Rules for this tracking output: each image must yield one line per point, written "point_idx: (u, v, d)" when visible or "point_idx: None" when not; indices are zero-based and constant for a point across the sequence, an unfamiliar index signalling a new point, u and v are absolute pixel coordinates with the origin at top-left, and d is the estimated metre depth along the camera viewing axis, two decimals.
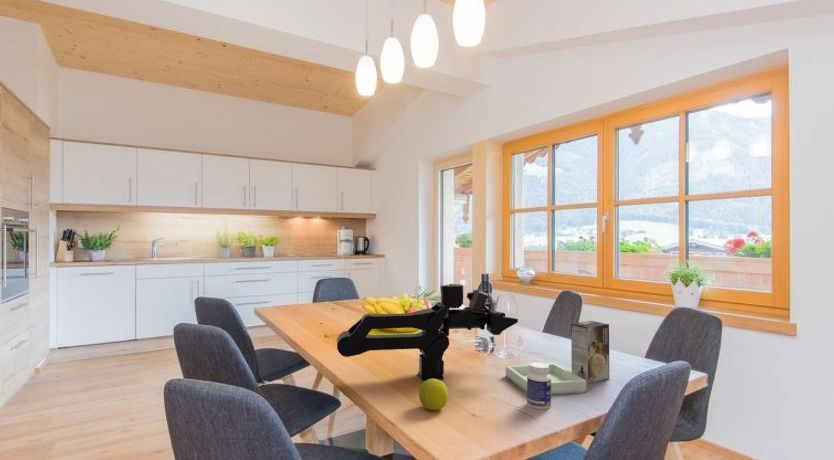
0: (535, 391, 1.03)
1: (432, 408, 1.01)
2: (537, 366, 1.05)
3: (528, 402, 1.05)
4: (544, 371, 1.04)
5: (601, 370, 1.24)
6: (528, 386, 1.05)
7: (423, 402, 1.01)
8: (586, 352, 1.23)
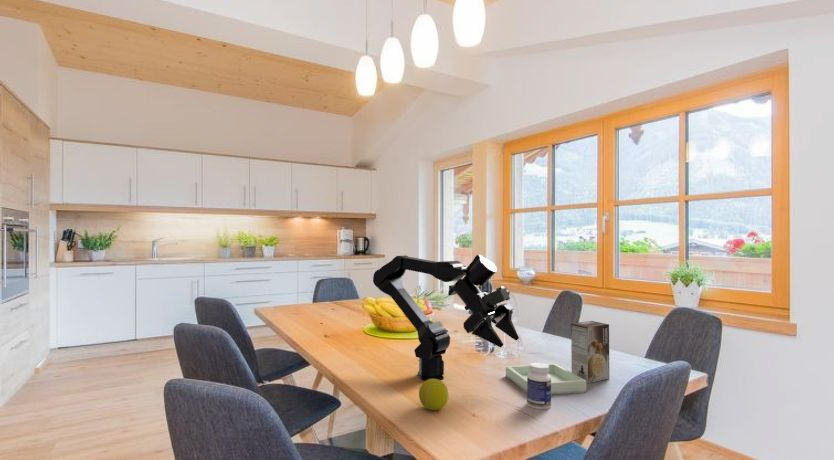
0: (535, 391, 1.03)
1: (432, 408, 1.01)
2: (537, 366, 1.05)
3: (528, 402, 1.05)
4: (544, 371, 1.04)
5: (601, 370, 1.24)
6: (528, 386, 1.05)
7: (423, 402, 1.01)
8: (586, 352, 1.23)
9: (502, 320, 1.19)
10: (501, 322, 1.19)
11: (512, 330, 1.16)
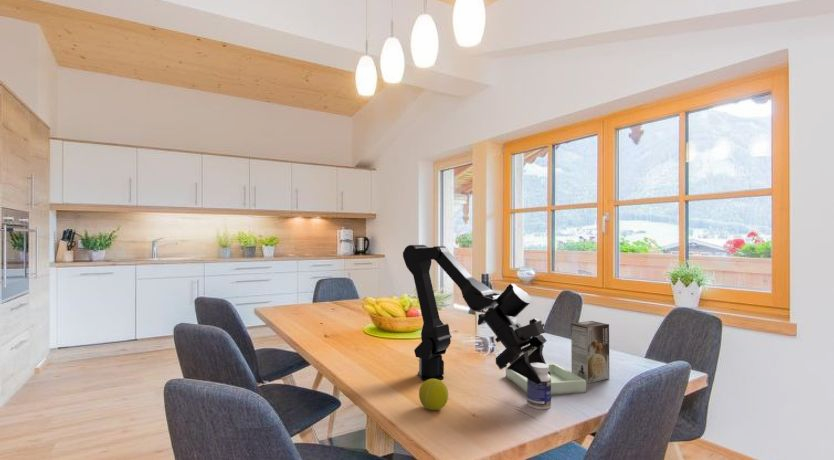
0: (535, 391, 1.03)
1: (432, 408, 1.01)
2: (537, 366, 1.05)
3: (528, 402, 1.05)
4: (544, 371, 1.04)
5: (601, 370, 1.24)
6: (528, 386, 1.05)
7: (423, 402, 1.01)
8: (586, 352, 1.23)
9: (532, 354, 1.11)
10: (532, 356, 1.11)
11: None
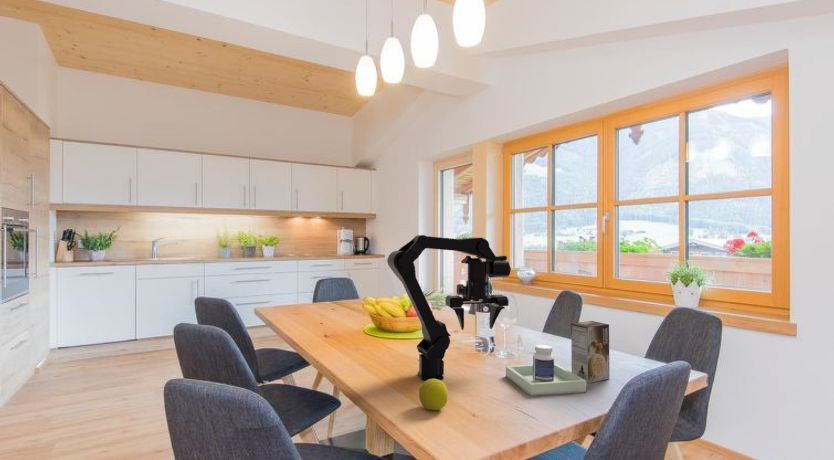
0: (546, 369, 1.19)
1: (432, 408, 1.01)
2: (545, 347, 1.20)
3: (538, 380, 1.20)
4: (551, 351, 1.20)
5: (601, 370, 1.24)
6: (537, 366, 1.20)
7: (423, 402, 1.01)
8: (586, 352, 1.23)
9: None
10: None
11: None
